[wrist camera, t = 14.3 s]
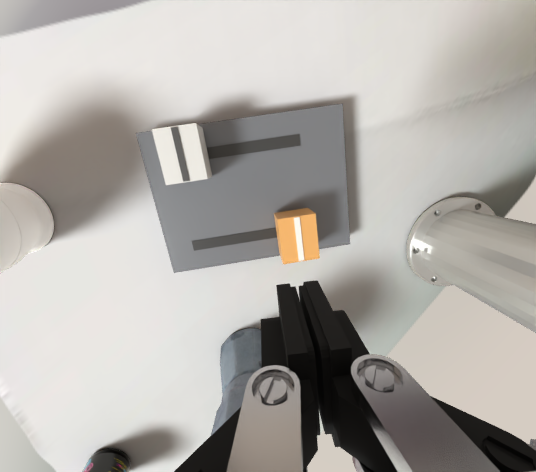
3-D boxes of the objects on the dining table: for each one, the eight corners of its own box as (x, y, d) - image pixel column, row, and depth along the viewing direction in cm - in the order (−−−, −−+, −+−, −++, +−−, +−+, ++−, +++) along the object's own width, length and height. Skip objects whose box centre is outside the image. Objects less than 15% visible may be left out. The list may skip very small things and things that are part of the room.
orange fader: (307, 207, 29) (315, 213, 26) (311, 247, 31) (319, 258, 27) (273, 213, 29) (277, 219, 26) (279, 253, 31) (283, 264, 27)
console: (334, 108, 29) (342, 103, 27) (342, 238, 34) (350, 244, 31) (145, 135, 29) (135, 133, 26) (179, 264, 33) (173, 273, 31)
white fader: (202, 128, 26) (195, 122, 23) (212, 177, 28) (207, 179, 24) (163, 133, 26) (151, 129, 23) (175, 182, 27) (165, 185, 24)
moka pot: (287, 310, 36) (332, 473, 17) (278, 394, 41) (305, 602, 21) (220, 308, 35) (189, 479, 16) (218, 395, 40) (190, 612, 20)
